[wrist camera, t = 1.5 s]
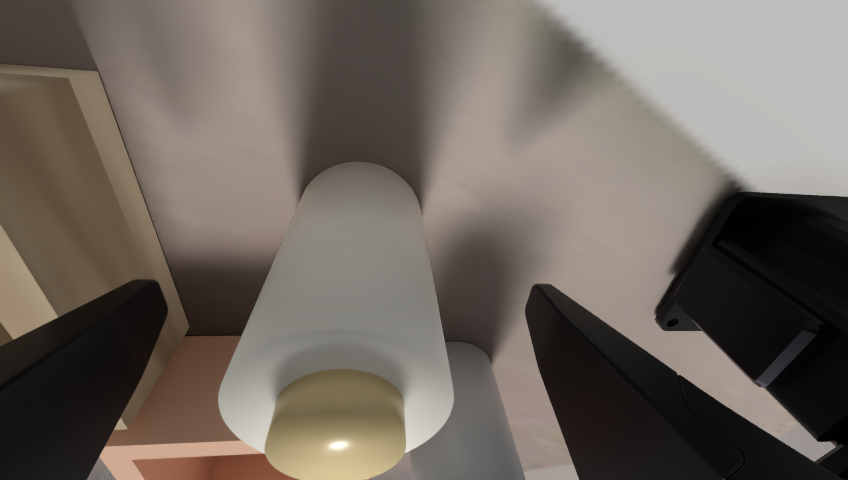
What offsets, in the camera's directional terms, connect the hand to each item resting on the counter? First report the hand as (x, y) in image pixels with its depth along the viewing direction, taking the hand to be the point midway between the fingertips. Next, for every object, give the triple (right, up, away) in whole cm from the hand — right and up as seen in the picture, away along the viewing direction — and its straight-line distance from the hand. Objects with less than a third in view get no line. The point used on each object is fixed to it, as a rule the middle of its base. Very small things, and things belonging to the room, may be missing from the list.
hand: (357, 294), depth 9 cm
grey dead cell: (+3, -5, +8) cm, 10 cm away
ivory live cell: (0, +2, +3) cm, 4 cm away
